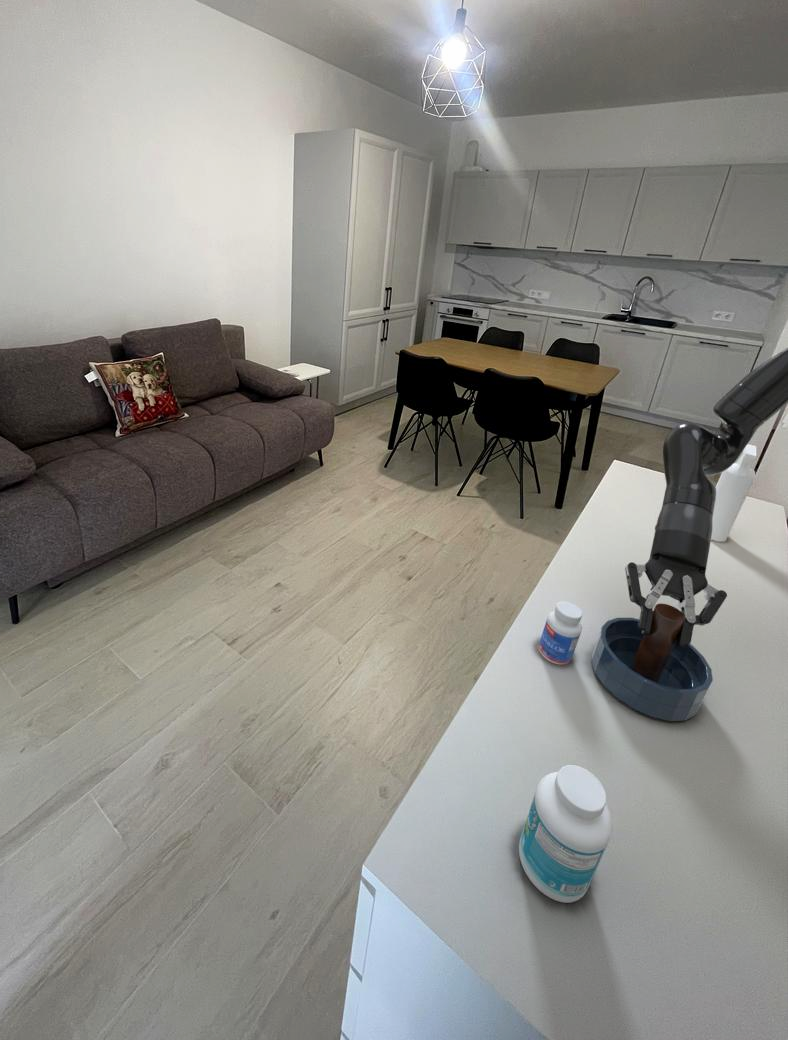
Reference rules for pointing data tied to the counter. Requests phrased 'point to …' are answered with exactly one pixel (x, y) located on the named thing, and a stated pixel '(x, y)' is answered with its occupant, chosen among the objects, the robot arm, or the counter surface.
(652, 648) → the brown wooden dowel
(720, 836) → the counter surface
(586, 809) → the pill bottle
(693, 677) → the bowl
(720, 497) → the white spray bottle
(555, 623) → the pill bottle
